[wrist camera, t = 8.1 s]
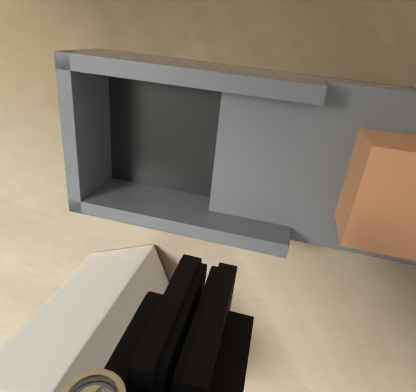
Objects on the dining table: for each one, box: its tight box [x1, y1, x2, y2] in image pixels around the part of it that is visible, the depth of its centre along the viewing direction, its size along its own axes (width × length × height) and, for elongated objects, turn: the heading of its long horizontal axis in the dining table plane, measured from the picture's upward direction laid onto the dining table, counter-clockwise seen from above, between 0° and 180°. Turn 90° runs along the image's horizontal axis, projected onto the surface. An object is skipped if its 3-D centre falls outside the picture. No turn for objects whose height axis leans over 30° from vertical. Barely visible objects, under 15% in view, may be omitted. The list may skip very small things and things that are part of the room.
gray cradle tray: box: [54, 49, 416, 265], centre depth 23 cm, size 11×27×5 cm, turn 84°
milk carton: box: [0, 245, 169, 392], centre depth 25 cm, size 7×7×19 cm
